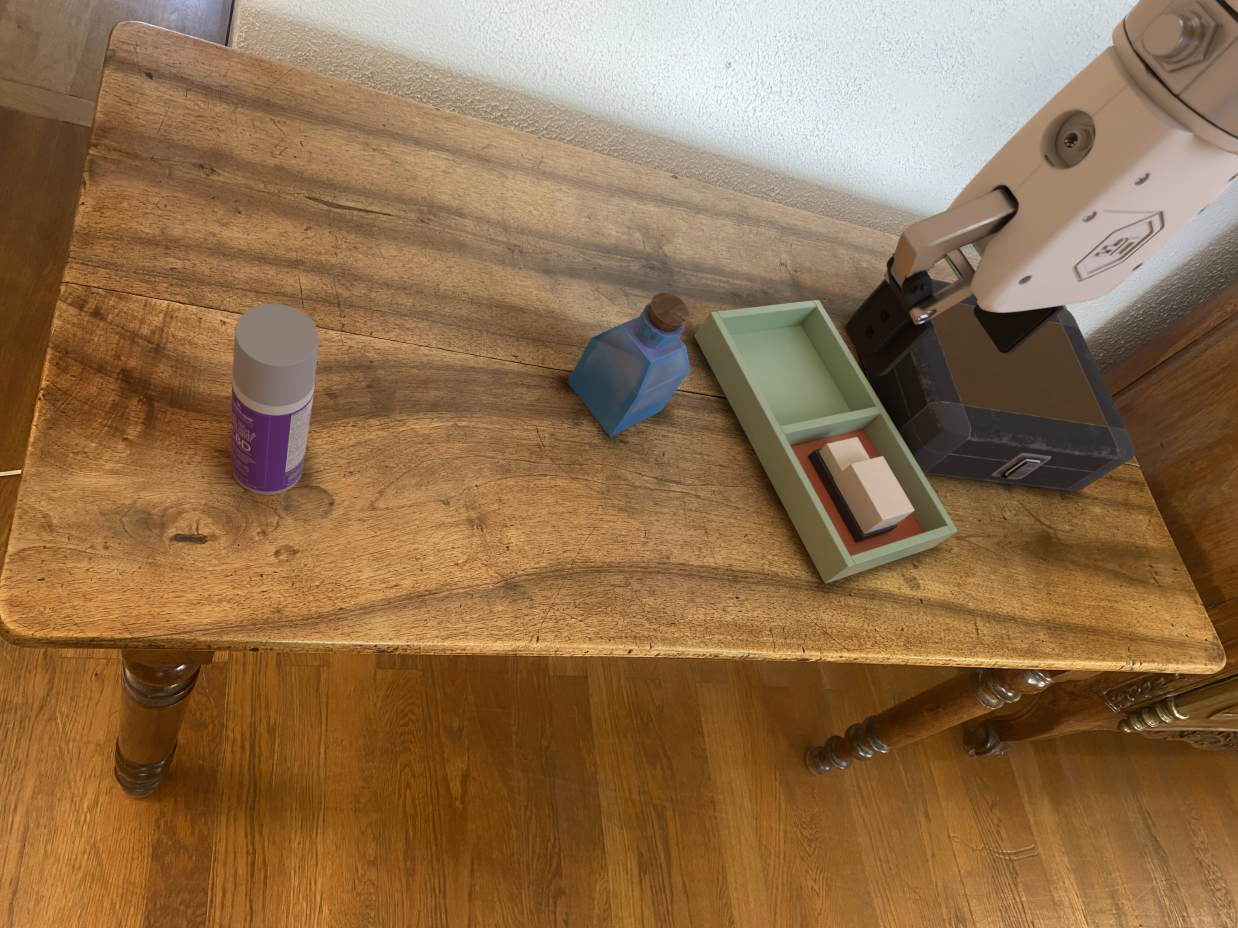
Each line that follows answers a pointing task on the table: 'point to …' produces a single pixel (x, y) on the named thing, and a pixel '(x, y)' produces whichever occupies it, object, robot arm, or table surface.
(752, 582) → the table surface
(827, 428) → the tray
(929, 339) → the cash box
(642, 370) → the perfume bottle
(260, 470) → the container
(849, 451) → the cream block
